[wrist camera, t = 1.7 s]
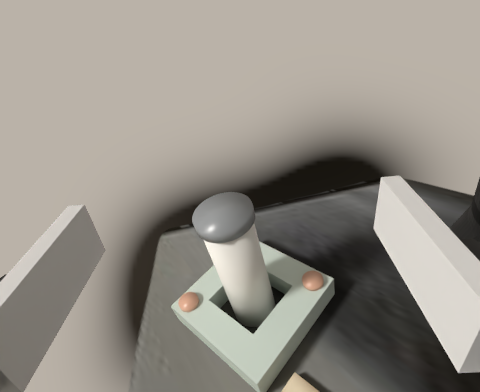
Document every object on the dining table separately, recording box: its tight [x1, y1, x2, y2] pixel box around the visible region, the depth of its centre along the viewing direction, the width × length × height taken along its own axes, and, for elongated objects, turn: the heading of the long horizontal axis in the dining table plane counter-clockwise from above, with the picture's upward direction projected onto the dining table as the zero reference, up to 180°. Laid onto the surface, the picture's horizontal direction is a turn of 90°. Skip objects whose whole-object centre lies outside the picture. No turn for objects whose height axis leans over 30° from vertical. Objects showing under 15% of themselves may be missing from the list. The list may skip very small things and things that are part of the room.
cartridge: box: [192, 192, 276, 327], centre depth 33 cm, size 6×6×16 cm
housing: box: [171, 242, 335, 392], centre depth 37 cm, size 14×14×4 cm
